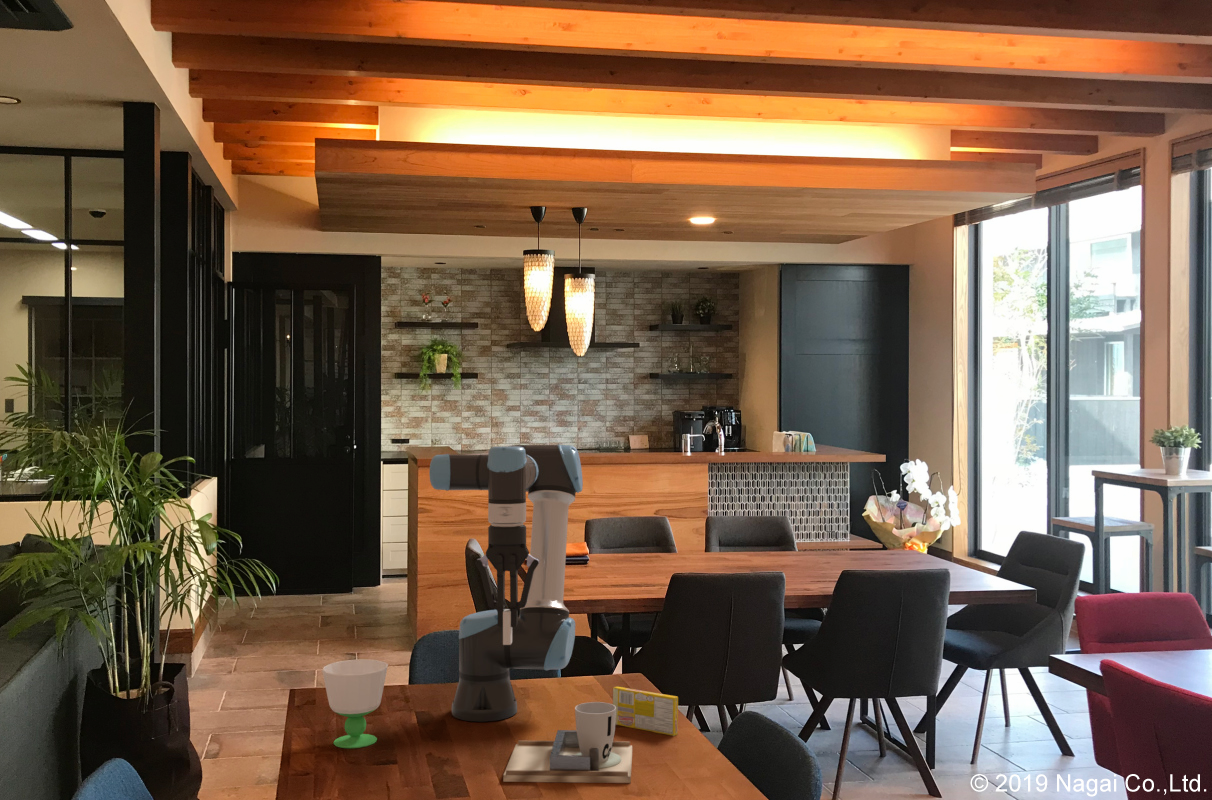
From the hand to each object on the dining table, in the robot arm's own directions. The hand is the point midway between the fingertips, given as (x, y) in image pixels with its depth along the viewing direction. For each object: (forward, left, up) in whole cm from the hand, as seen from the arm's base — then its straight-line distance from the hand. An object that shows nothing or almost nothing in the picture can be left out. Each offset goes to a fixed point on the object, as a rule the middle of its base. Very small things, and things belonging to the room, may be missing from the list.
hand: (507, 643), depth 199 cm
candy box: (+6, +36, -24) cm, 43 cm away
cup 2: (+14, +11, -23) cm, 29 cm away
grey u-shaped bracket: (+10, +8, -23) cm, 26 cm away
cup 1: (-35, -11, -24) cm, 44 cm away
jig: (+10, +8, -24) cm, 27 cm away
